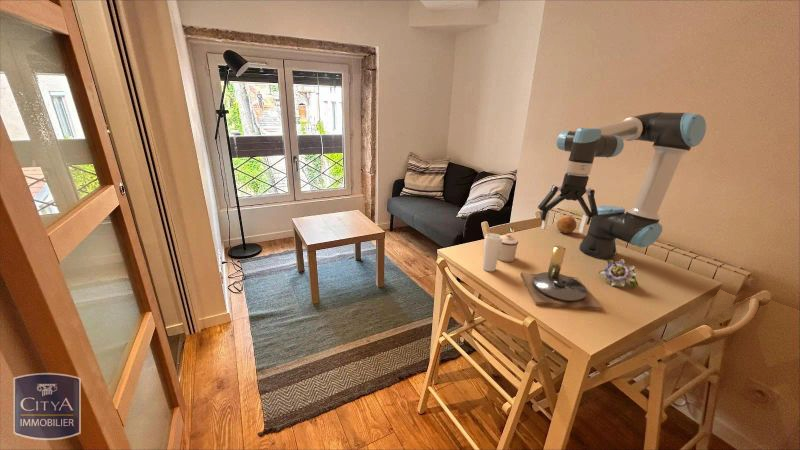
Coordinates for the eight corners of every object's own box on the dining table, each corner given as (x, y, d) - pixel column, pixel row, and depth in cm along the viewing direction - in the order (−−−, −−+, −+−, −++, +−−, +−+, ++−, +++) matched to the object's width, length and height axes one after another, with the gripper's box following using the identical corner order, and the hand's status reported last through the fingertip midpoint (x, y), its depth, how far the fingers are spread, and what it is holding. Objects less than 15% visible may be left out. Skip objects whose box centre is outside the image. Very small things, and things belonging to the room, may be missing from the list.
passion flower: (609, 297, 125) (595, 272, 124) (612, 281, 132) (599, 258, 131) (642, 293, 117) (628, 266, 116) (643, 277, 124) (630, 251, 123)
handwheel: (573, 277, 124) (581, 246, 119) (595, 304, 107) (606, 269, 103) (526, 273, 126) (533, 243, 121) (541, 299, 109) (549, 265, 104)
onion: (552, 228, 180) (555, 212, 176) (570, 230, 179) (574, 213, 175) (558, 235, 171) (562, 218, 167) (577, 236, 170) (581, 219, 166)
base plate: (576, 280, 126) (577, 277, 125) (601, 310, 107) (602, 307, 106) (520, 275, 127) (521, 272, 127) (535, 305, 109) (536, 301, 108)
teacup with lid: (518, 258, 142) (523, 235, 138) (507, 264, 136) (512, 240, 132) (496, 249, 150) (499, 226, 146) (484, 254, 145) (488, 231, 141)
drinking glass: (488, 274, 128) (493, 240, 122) (477, 266, 133) (481, 234, 128) (500, 270, 131) (506, 238, 125) (489, 263, 136) (494, 232, 131)
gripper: (543, 172, 107) (530, 230, 114) (620, 179, 104) (602, 237, 112) (537, 169, 114) (525, 223, 121) (609, 175, 111) (592, 230, 119)
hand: (562, 230), depth 116 cm, fingers open, 13 cm apart
